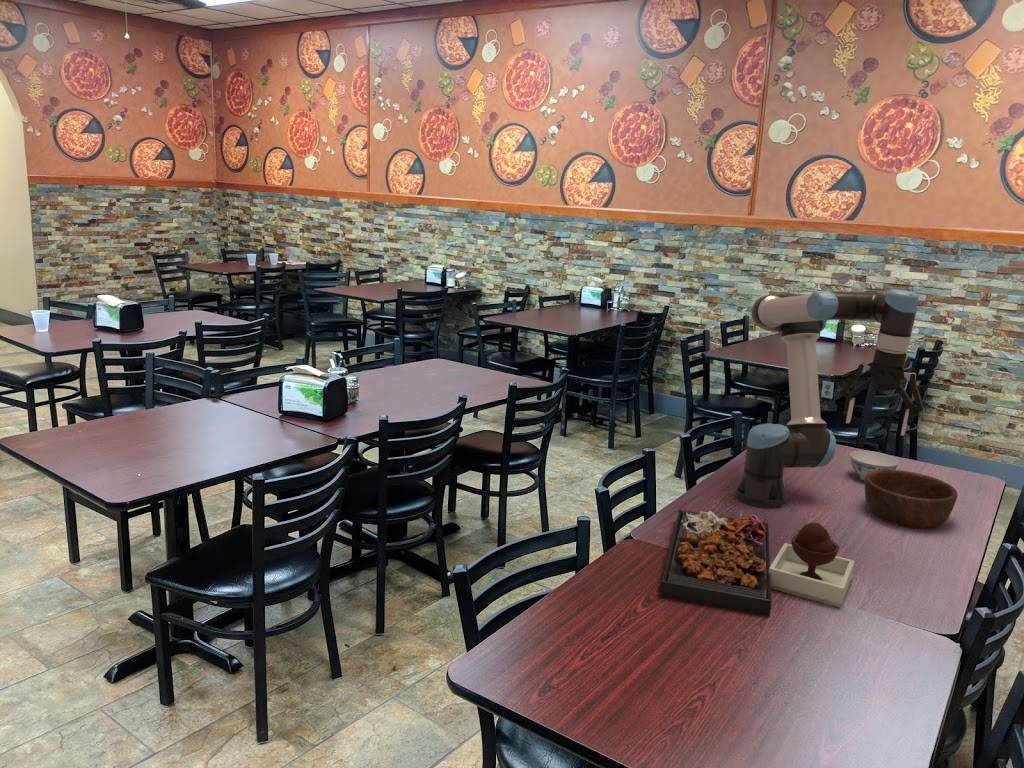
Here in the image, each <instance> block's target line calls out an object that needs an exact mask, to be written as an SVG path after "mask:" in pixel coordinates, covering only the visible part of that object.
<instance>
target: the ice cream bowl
mask: <svg viewBox="0 0 1024 768" xmlns="http://www.w3.org/2000/svg"><path fill="white" fill-rule="evenodd" d="M791 545H792V547H793V550H794V552H795V553H796V555H797V556H798V557H799V558H800V559H801V560H802V561H803V562H805V563H807V564H808V571H806V572H801V573H800V575H802V576H806V577H810V578H813V579H817V580H821V581H822V578H821V577H820V576H819V575H818V574H816V573H815V568H816V566H820V565H824V564H828V563H830V562H831V561H833V560H834V558H835V557H836V556H837V554H838V552H839V550H840V545H839V544H837V543H836V542H835V541H834V540H833V539H831V535H830V533H829V532H828V530H827V529H826V528H825V526H823V525H822V524H820V523H818V522H809V523H806V524H804V525H803V526H802V527H801V529H798V533H797V534H796V535H794V536H793V538H792V539H791Z"/></svg>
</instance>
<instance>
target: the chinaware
mask: <svg viewBox="0 0 1024 768" xmlns="http://www.w3.org/2000/svg"><path fill="white" fill-rule="evenodd" d="M849 459H850V464H851V466H852V468H853V470H854V472H855V473H856V474H857V475H858V476H859V479H860V480H861V481H863V480H864V482H865V477H866V475H867V474H868V473H870V472H873V471H877V470H897V467H898V465H899V463H900V462H899V460H898V458H895V457H894V456H891V455H889V454H886V453H883V452H879V451H871V450H856V451H852V452H850V453H849Z"/></svg>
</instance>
